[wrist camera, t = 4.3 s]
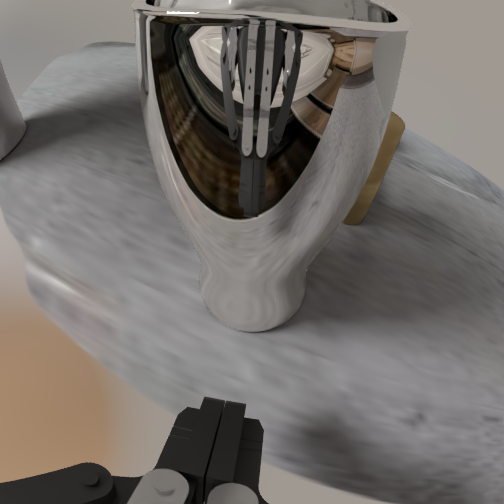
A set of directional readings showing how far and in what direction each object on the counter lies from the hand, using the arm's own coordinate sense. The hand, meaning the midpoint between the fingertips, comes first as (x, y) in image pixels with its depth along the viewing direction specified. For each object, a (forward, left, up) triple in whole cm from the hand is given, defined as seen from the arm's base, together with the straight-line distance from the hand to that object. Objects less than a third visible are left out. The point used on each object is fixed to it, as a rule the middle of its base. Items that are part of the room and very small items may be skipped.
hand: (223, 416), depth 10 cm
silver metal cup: (0, +8, -5) cm, 9 cm away
